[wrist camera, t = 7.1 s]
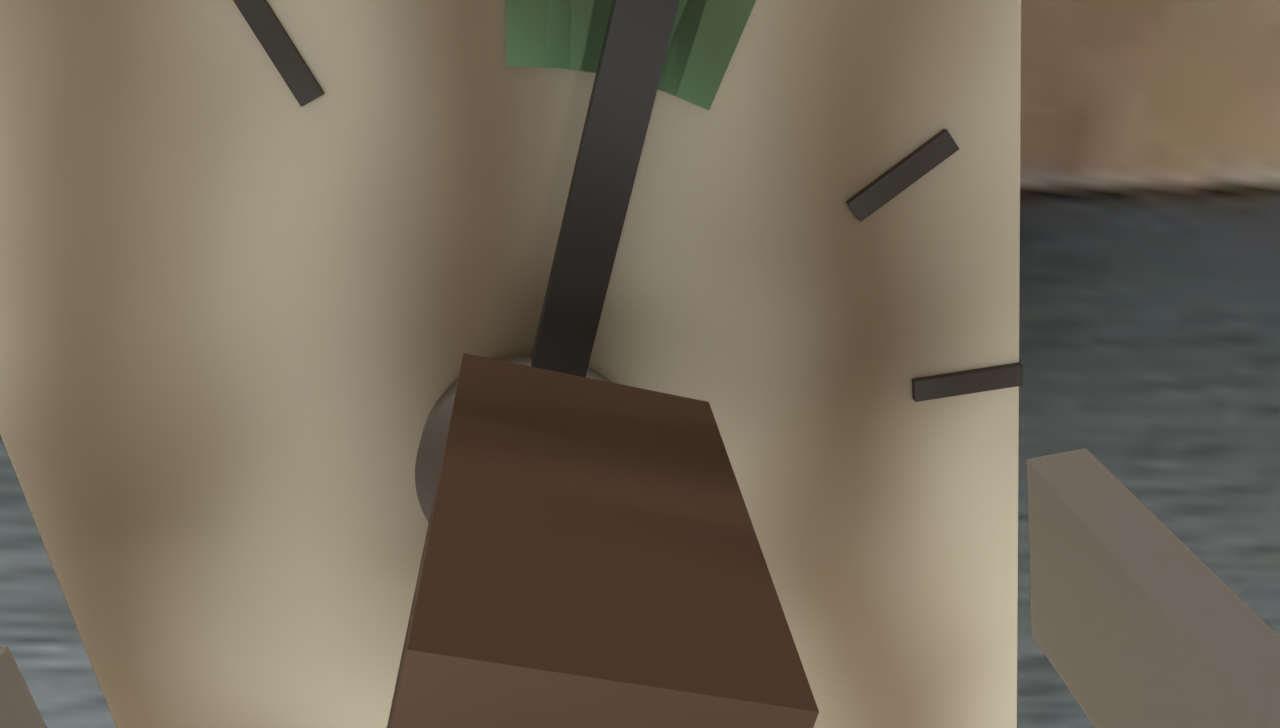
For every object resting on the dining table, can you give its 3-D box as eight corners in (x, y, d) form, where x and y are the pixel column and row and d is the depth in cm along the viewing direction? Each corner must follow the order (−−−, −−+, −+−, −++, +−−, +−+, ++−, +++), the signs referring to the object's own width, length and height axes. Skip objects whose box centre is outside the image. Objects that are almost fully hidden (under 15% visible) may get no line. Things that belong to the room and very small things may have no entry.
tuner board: (971, -294, 17) (1027, -324, 15) (982, 759, 26) (1018, 829, 24) (-147, -143, 17) (-240, -153, 15) (232, 882, 25) (205, 964, 23)
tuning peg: (520, -73, 16) (485, -85, 6) (778, -4, 16) (1118, 84, 7) (388, 605, 20) (240, 1247, 10) (598, 638, 21) (647, 1271, 11)
